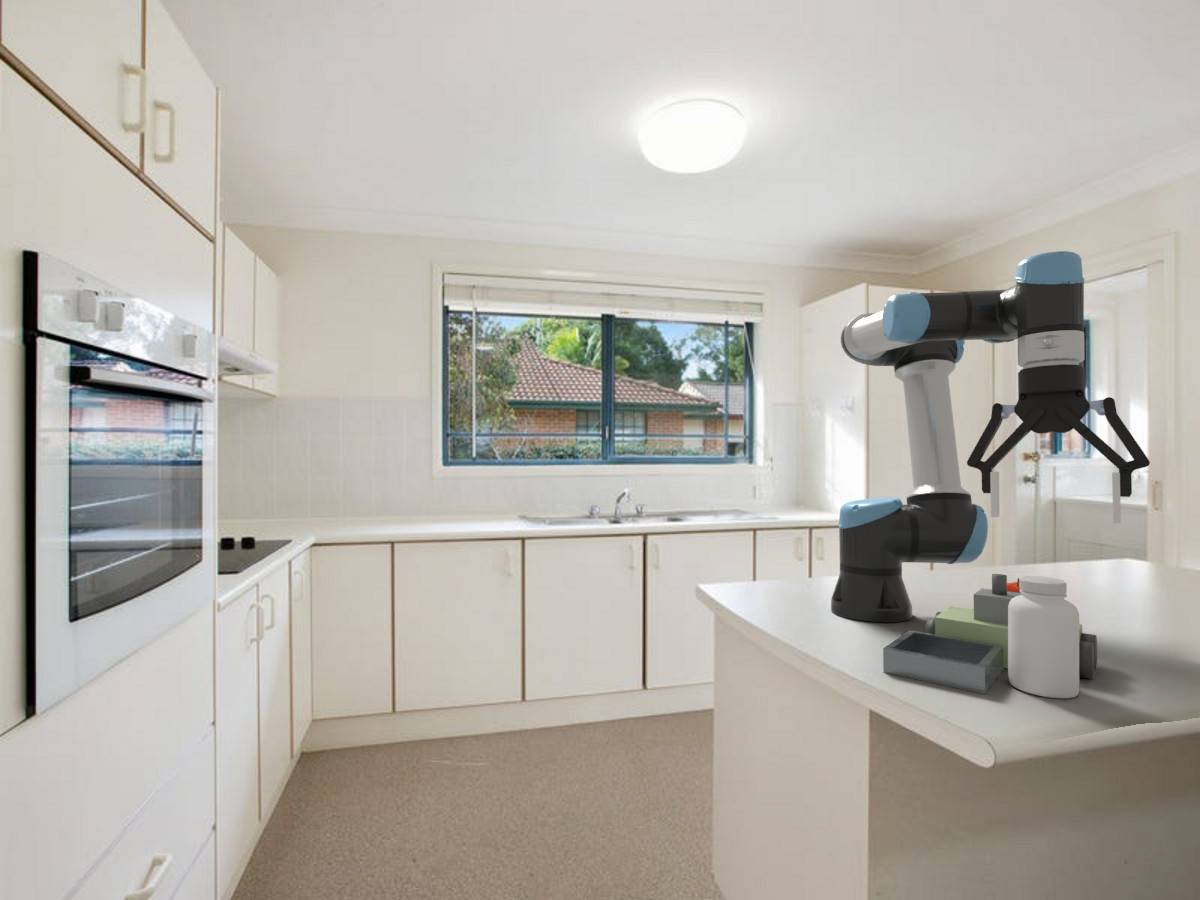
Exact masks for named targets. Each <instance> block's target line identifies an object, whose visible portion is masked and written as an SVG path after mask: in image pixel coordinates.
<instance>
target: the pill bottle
mask: <svg viewBox="0 0 1200 900" xmlns="http://www.w3.org/2000/svg"><path fill="white" fill-rule="evenodd" d="M1018 578H1019V588H1020V590H1019V591H1020V592H1021V593H1022V595H1019V596H1016V597H1014V598H1012V599H1011V600H1010V602H1009V605H1008V668H1007V676H1008V677H1007V678H1008V682H1009V683H1010V685H1011V686H1012V687H1014V688H1015V689H1018V690H1020V691H1022V692H1025V693H1027V694H1031V695H1033V696H1035V695H1036V696H1038V697H1039V696H1040V697H1043V698H1050V699H1072V698H1075V697H1077V696H1078V694H1079V691H1080V677H1079V624H1080V613H1079V610H1078V608H1077V606H1075V604H1074V603H1073V602H1070V601H1068V600H1066V599H1065V598H1067V596H1068V595H1067V590H1068V589H1067V585H1068V584H1067V582H1066V581H1065V580H1062V579H1059V578H1057V577H1056V578H1055V577H1048V576H1041V575H1040V576H1038V575H1025V576H1024V575H1023V576H1020V577H1018Z"/></svg>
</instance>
